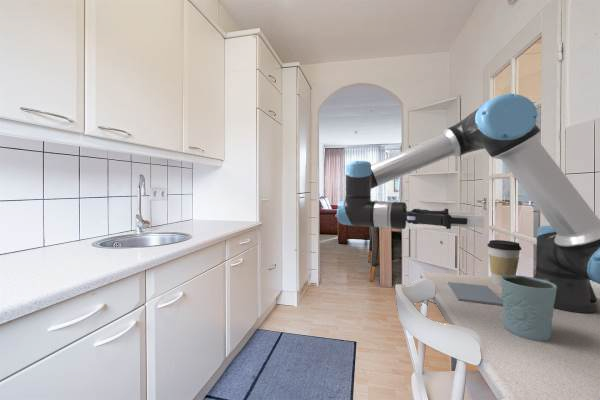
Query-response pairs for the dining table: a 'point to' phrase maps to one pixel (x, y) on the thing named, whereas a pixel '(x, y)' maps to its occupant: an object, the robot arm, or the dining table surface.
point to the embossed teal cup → (528, 306)
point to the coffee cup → (503, 259)
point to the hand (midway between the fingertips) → (479, 219)
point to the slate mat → (475, 293)
